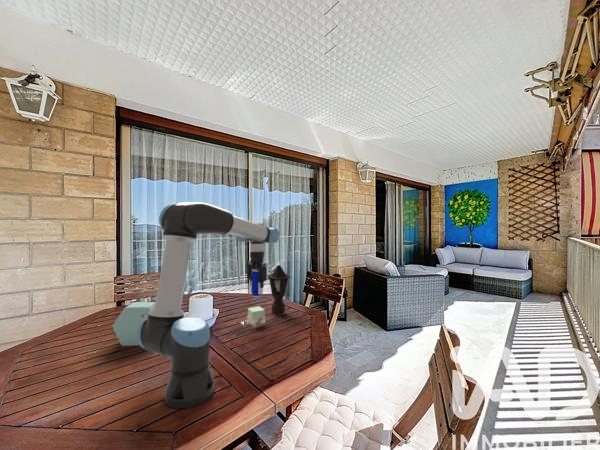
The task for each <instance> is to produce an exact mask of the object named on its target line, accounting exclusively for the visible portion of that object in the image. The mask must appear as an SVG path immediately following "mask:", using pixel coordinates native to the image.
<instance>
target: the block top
mask: <svg viewBox="0 0 600 450" xmlns="http://www.w3.org/2000/svg"><path fill="white" fill-rule="evenodd" d="M265 311H266V310H265V309H264V308H263V307H261V306H254V307H253V306H252V307H248V308H247V316H249V317H250V318H251V319H252V320H253V319H258V318H263V317H265V318H266V316H265Z"/></svg>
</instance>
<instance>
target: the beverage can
mask: <svg viewBox="0 0 600 450" xmlns="http://www.w3.org/2000/svg"><path fill="white" fill-rule="evenodd" d="M259 281H260V280H259V275H258V270H257V268H256V269H253V270H252V293H251V296H252V297H253V298H260V297H261V296H262V294H258V282H259Z"/></svg>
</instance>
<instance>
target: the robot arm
mask: <svg viewBox="0 0 600 450" xmlns="http://www.w3.org/2000/svg"><path fill="white" fill-rule="evenodd" d="M158 224H159V226H160V227H161V229H162V231H163V232H162V237H163V238H164V239H165V242H166V243H165V247H164V252H163V258H162V264H161V269H160V274H159V275H160V276H159V281H158V286H157V290H156V297H155V301H154V302H155V306H154V308H153V309H152V310H151V311H150V312H149V313H148V317H147V318H146V319H144V322H143V323H141V324H140V326H139V328H138V332H137V340H138V343H139V344H140V345H139V346H140V347H141V348H143V349H145V350H146V352H150V353H153V354H156V355H160V356H162V357H165V358H168V359H170V362H171V363H170V364H171V367H170V370H171V371H170V376H169V378H168V381H167V385H166V388H165V390H164V401H165V403H166V405H168V407H171V408H175V409H188V408H192V407H195V406H198V405H200V404H202V403H205V401H207V400H208V399H209V398H210V397H211V396H212V395H213V393H214V392H215V377H214V376H213V373H212V370H211V367H210V351H211V349H210V347H211V346H210V344H211V331H210V326H209V323H208V322H207V321H206V320H205V319H204V318H201V317H197V316H196V317H195V316H194V317H191V316H190V317H189V316H188V317H185V312H184V311H183V310H182V302H183V296H184V291H185V290H184V289H185V284H186V278H187V272H188V268H189V267H188V265H189V260H190V254H191V249H192V244H193V243H194V242H195V241H197V238H198V235H204V234H205V235H210V234H211V235H213V234H214V235H220V236H225V235H227V234H228V235H233V236H234V238H235V240H236V241H237V242H239V243H246V242H249V244H250V245H249V246H250V247H249V250H250V252H249V258H250V260H247V261H246V267H247V268H246V269H247V270H246V279H248V280H249V286H250V287H249V288H250V290H249V291H250V293H251V294H252V270H253V269H256V268H257V270H258V275H259V280H260V281H259V282H258V294H261V295H262V294H263V292H264V287H265V286H264V285H265V282H266V281H267V280H268V277H267V275H268V272H267V271H268V268H267V267H268V262H264V258H265V252H264V251H265V243H266V244H276V243H278V241H279V239H280V231H279V229H278V228H276V227H268V226H265V224H264V223H261V222H259V223H258V222H257V223H256V222H253V221H250V220H247V219H244V218H241V217H238V216H236V215H233V213H232V212H231V211H229V210H227V209H224V208H221V207H219V206H216V205H213V204H209V203H205V202H201V201H200V202H180V201H179V202H174V203H170V204H168V205H167V206H165V207H164V208H163V209H162V210H161V212H160V213H159V217H158Z"/></svg>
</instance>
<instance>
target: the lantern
mask: <svg viewBox="0 0 600 450" xmlns="http://www.w3.org/2000/svg"><path fill="white" fill-rule="evenodd" d="M290 278H291V275H290V274H287V273H286V272H285V270H284V269H283V267H282V266H281V265H280V264H277V266H276V267H275V269H273V272H272V273H271V274H267V279H268V281H269V286H270V291H271V296H272V297H273V299H274V300H273V303H272V304H271V314H272V313H273V314H283V313H284V312H286V304H285V303H284V301H283V299H284V297H285V296H286V290H287V286H288V285H287V284H288V279H290ZM273 314H272V315H273Z"/></svg>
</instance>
